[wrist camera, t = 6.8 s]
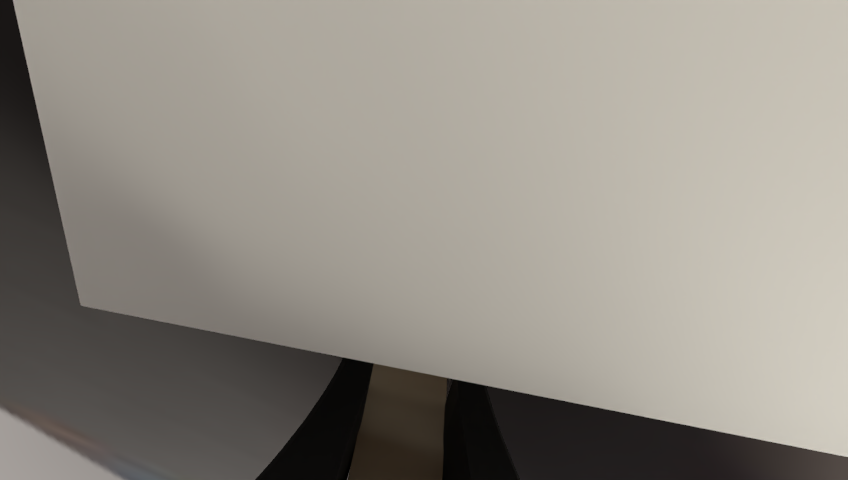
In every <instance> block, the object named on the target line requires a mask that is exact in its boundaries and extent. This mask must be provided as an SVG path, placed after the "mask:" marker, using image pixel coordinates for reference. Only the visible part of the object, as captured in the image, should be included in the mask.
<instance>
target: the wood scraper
mask: <svg viewBox="0 0 848 480" xmlns="http://www.w3.org/2000/svg"><path fill="white" fill-rule="evenodd" d="M446 391H447V378H445V377H440V376H435V375H430V374H425V373H420V372H415V371H410V370H405V369H400V368H394V367H389V366H384V365H379V364H374V365H373V370H372V375H371V379H370V384H369V389H368V394H367V399H366V403H365V408H364V413H363V417H362V422H361V426H360V429H359V432H358V435H357V440H356V444H355V449H354V454H353V458H352V463H351V468H350V472H349V477H348V480H442V476H443V455H444V448H443V432H444V412H445V403H446Z"/></svg>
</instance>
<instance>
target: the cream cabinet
mask: <svg viewBox="0 0 848 480" xmlns="http://www.w3.org/2000/svg"><path fill="white" fill-rule="evenodd" d="M13 3H14V8H15V12H16V17H17V21H18V26H19V30H20V35H21V39H22V44H23V48H24V53H25V57H26V62H27V66H28V71H29V75H30V80H31V84H32V89H33V93H34V98H35V102H36V107H37V111H38V116H39V120H40V125H41V129H42V134H43V138H44V143H45V147H46V152H47V156H48V161H49V165H50V170H51V174H52V179H53V183H54V188H55V192H56V197H57V201H58V205H59V210H60V214H61V219H62V223H63V228H64V232H65V237H66V241H67V246H68V250H69V255H70V259H71V264H72V268H73V273H74V277H75V282H76V286H77V291H78V295H79V300H80V304H81V306H86V307H91V308H96V309H101V310H106V311H111V312H116V313H121V314H126V315H131V316H136V317H141V318H146V319H151V320H156V321H161V322H167V323H172V324H177V325H182V326H187V327H192V328H197V329H202V330H207V331H212V332H217V333H222V334H227V335H232V336H237V337H243V338H248V339H253V340H258V341H263V342H268V343H273V344H278V345H283V346H288V347H293V348H298V349H303V350H308V351H313V352H318V353H324V354H329V355H334V356H339V357H344V358H349V359H354V360H359V361H364V362H369V363H374V364H379V365H384V366H389V367H394V368H400V369H405V370H410V371H415V372H420V373H425V374H430V375H435V376H440V377H445V378H450V379H455V380H460V381H465V382H470V383H476V384H481V385H486V386H491V387H496V388H501V389H506V390H511V391H516V392H521V393H526V394H531V395H536V396H541V397H546V398H551V399H557V400H562V401H567V402H572V403H577V404H582V405H587V406H592V407H597V408H602V409H607V410H612V411H617V412H622V413H627V414H633V415H638V416H643V417H648V418H653V419H658V420H663V421H668V422H673V423H678V424H683V425H688V426H693V427H698V428H703V429H708V430H714V431H719V432H724V433H729V434H734V435H739V436H744V437H749V438H754V439H759V440H764V441H769V442H774V443H779V444H784V445H790V446H795V447H800V448H805V449H810V450H815V451H820V452H825V453H830V454H835V455H840V456H845V457H848V0H13Z"/></svg>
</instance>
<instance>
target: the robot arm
mask: <svg viewBox="0 0 848 480" xmlns="http://www.w3.org/2000/svg"><path fill="white" fill-rule="evenodd" d="M373 365H374V363H369V362H364V361H359V360H354V359H349V358H344V357H343V359H342V362H341V364H340V366H339V367H338V369H337V371H336V373H335V375H334V377H333V378H332V380H331V382H330V383H329V385H328V386H327V388H326V390H325V391H324V393H323V394H322V396H321V397H320V399H319V400H318V402H317V403H316V405H315V406H314V408H313V409H312V410H311V412H310V413H309V415H308V416H307V418H306V419H305V420H304V422H303V423H302V424H301V426H300V427H299V428H298V429H297V431H296V432H295V433H294V435H293V436H292V437H291V438H290V440H289V441H288V442H287V443H286V445H285V446H284V447H283V449H282V450H281V451H280V452H279V453H278V454H277V456H276V457H275V458H274V459H273V460H272V462H271V463H270V464H269V465H268V466H267V467H266V468H265V470H264V471H263V472H262V473H261V474H260V475H259V476H258V477H257V478H256V479H255V480H347V477H348V473H349V470H350V467H351V463H352V458H353V454H354V449H355V444H356V440H357V435H358V432H359V429H360V426H361V422H362V417H363V413H364V408H365V403H366V399H367V394H368V389H369V384H370V379H371V375H372V370H373ZM443 448H444V455H443V476H442V480H520V478H519V476H518V474H517V471H516V469H515V467H514V464H513V462H512V459H511V457H510V454H509V452H508V449H507V447H506V444H505V442H504V439H503V437H502V434H501V431H500V428H499V426H498V423H497V420H496V417H495V414H494V411H493V408H492V405H491V402H490V398H489V395H488V391H487V388H486V385H481V384H476V383H470V382H465V381H460V380H455V379H453V382H452V385H451V388H450V391H449V394H448V397H447V400H446V403H445V412H444V432H443Z"/></svg>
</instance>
